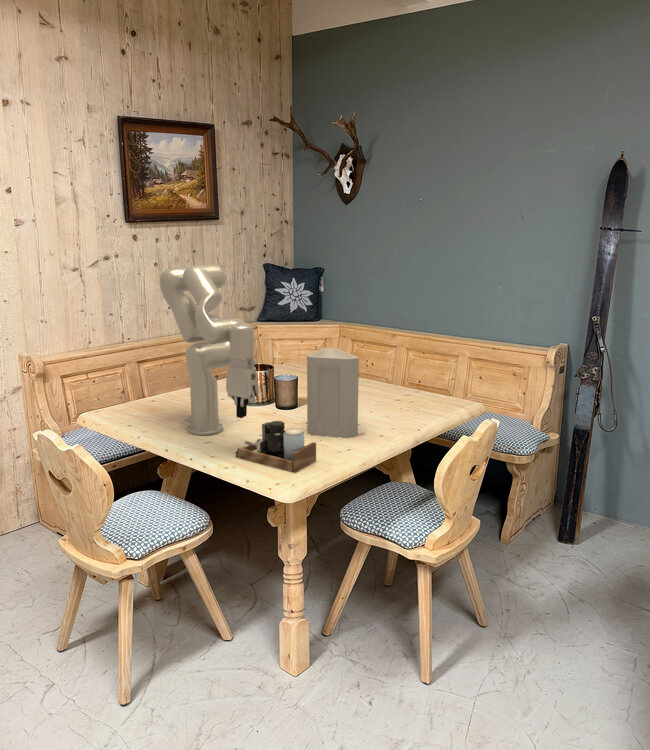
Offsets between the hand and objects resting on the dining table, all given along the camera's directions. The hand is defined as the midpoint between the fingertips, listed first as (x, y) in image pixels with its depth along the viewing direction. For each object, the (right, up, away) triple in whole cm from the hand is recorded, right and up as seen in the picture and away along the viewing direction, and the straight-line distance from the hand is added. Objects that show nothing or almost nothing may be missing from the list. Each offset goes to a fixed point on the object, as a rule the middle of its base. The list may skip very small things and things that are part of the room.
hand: (241, 416), depth 216 cm
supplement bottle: (+12, -13, -6) cm, 19 cm away
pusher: (+5, -12, -2) cm, 13 cm away
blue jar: (+18, -14, -9) cm, 24 cm away
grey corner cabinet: (+28, -7, +21) cm, 36 cm away
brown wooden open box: (+12, -13, -6) cm, 18 cm away
